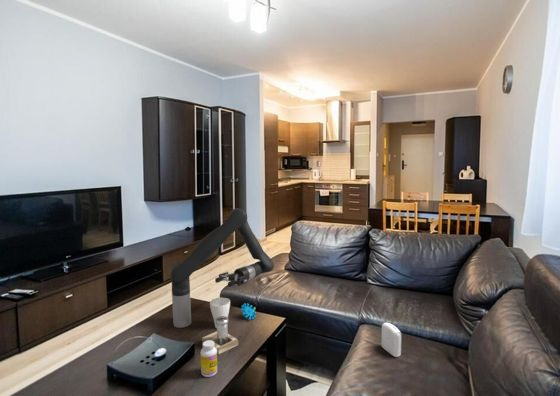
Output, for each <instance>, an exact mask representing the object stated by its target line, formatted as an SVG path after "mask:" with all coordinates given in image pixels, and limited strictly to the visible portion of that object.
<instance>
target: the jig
mask: <svg viewBox="0 0 560 396" xmlns="http://www.w3.org/2000/svg"><path fill="white" fill-rule="evenodd" d="M201 338H202V339H201V341H202V344H203V343H204V342H205V341H208V340H212V341H214V347H215V348H216V349H217V355H221V354H222V353H224V352H227V351H229V350H230V349H231V350H232V349H233V348H235V347H237V346H239V339H238V338H236V337H234V336H233V335H231V334H229V333H228V343H226V344H224V345H222V346H220V345H218V344H217V330H216V331H214V332H211V333H210V334H208V335H206V336H203V337H201Z"/></svg>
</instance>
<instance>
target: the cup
mask: <svg viewBox="0 0 560 396" xmlns="http://www.w3.org/2000/svg"><path fill="white" fill-rule="evenodd" d="M209 307H210V308H209V309H210V312H211V315H212V317H213V321H214V327H215V329H217V324H216V321H215V320H216V318H217V317H220V316H226V317H228V318H229V313H230V308H231V299H230V298H227V297H218V298H213V299H212V300H211V301H209Z"/></svg>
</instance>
